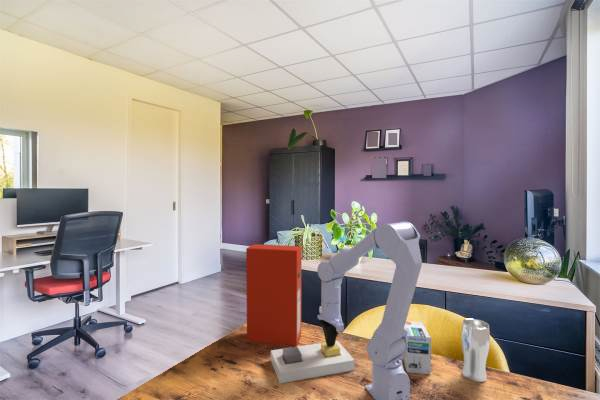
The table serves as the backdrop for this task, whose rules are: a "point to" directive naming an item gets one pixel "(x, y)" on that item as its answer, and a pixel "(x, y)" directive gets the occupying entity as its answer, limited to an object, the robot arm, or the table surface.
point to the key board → (311, 363)
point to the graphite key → (291, 355)
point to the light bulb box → (417, 348)
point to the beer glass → (475, 349)
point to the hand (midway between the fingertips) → (330, 344)
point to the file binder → (274, 294)
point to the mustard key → (330, 350)
